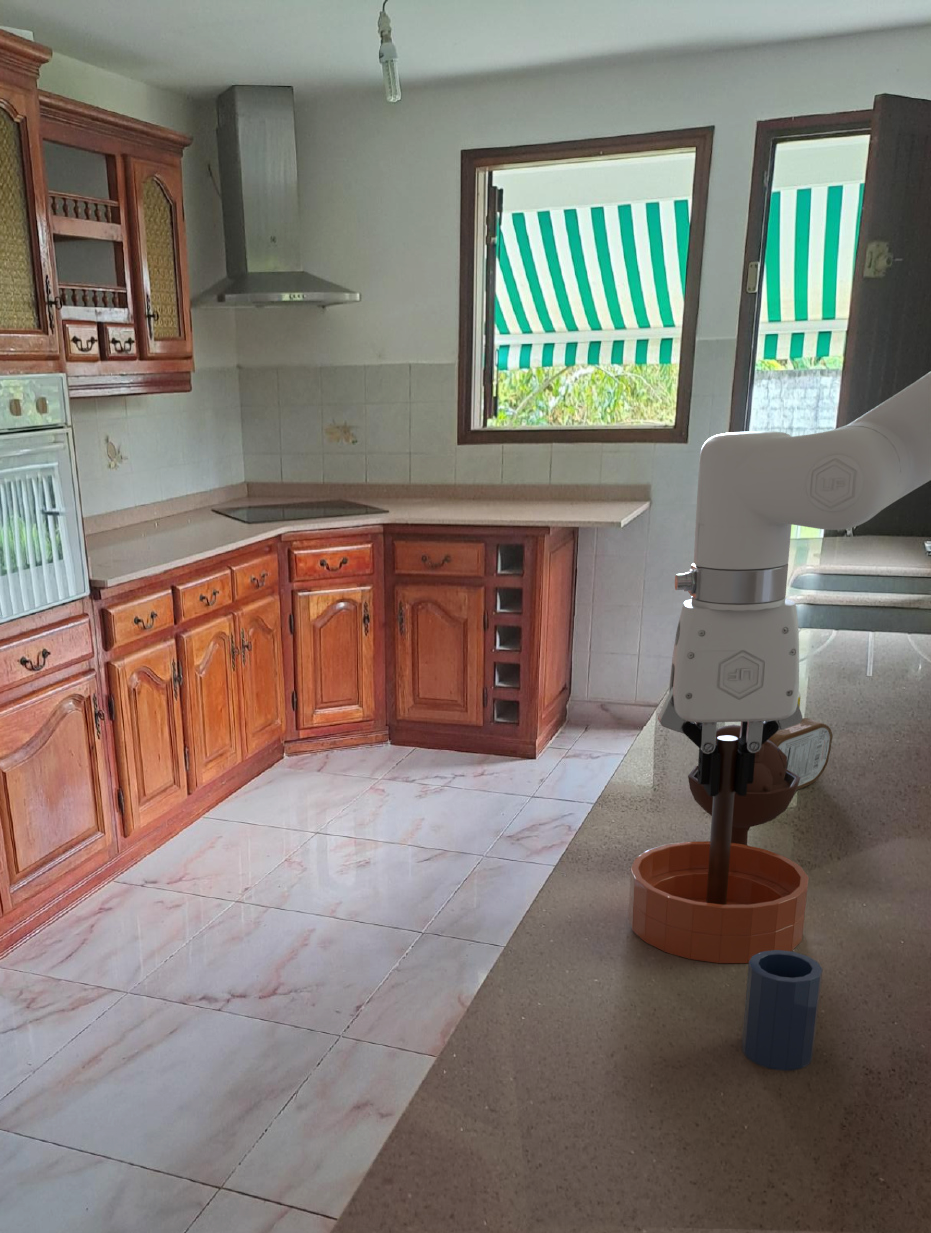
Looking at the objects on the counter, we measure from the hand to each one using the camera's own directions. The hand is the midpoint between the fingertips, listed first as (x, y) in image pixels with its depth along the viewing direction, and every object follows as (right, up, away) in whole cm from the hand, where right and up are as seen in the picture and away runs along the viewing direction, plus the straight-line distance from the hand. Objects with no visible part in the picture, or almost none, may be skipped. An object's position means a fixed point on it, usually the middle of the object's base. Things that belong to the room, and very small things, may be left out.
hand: (724, 789), depth 104 cm
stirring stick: (+1, -12, +5) cm, 13 cm away
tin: (+22, +1, +39) cm, 45 cm away
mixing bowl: (+1, -13, +5) cm, 14 cm away
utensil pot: (-1, -21, -15) cm, 26 cm away
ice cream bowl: (+8, -7, +20) cm, 23 cm away
